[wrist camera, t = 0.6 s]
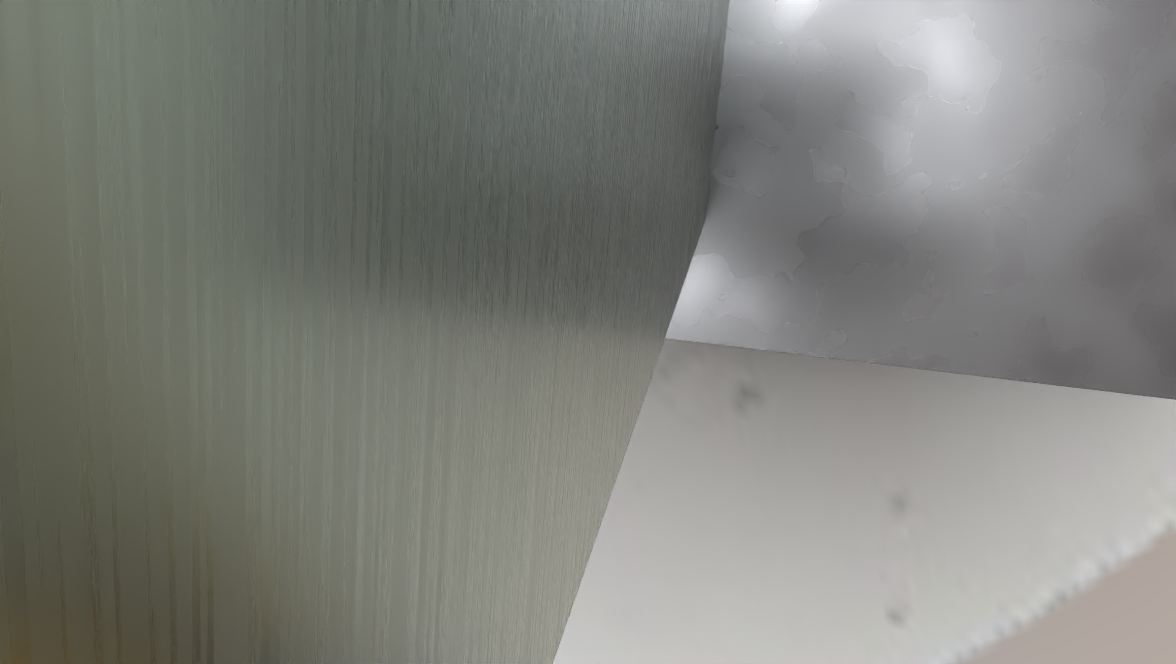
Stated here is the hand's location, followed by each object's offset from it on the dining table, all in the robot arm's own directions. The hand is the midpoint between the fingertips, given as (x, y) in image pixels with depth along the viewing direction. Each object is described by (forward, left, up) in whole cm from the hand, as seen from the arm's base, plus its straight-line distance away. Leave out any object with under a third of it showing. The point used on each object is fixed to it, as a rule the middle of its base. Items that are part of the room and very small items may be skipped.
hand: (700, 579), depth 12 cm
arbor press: (-4, +3, -25) cm, 25 cm away
